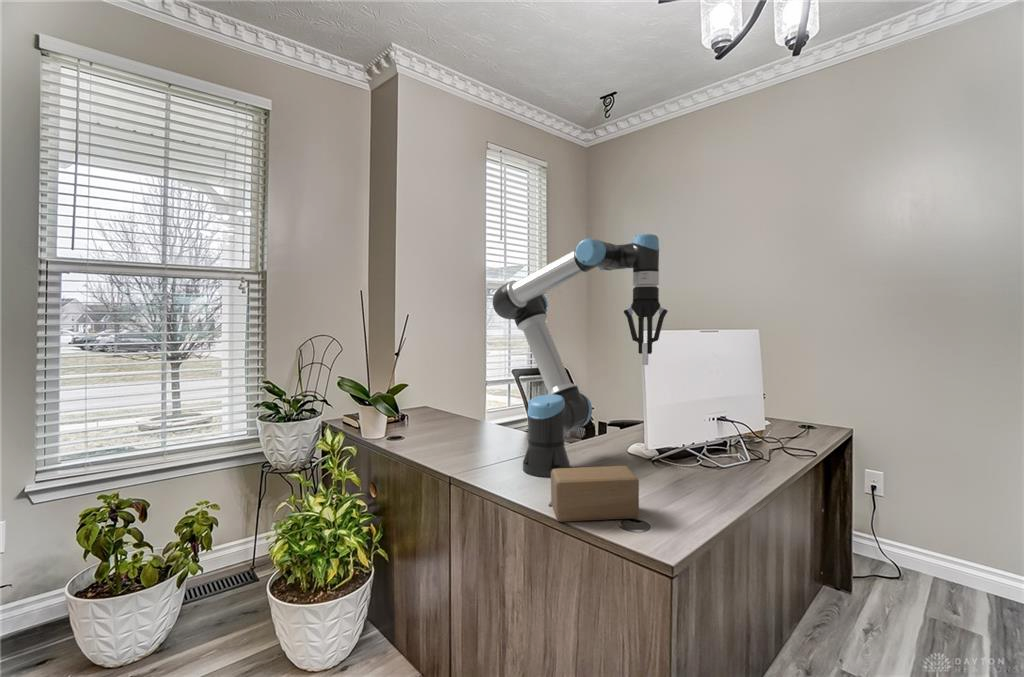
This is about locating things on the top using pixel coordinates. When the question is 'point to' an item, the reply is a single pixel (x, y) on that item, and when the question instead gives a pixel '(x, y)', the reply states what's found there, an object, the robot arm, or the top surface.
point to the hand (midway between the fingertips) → (645, 364)
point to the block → (594, 493)
